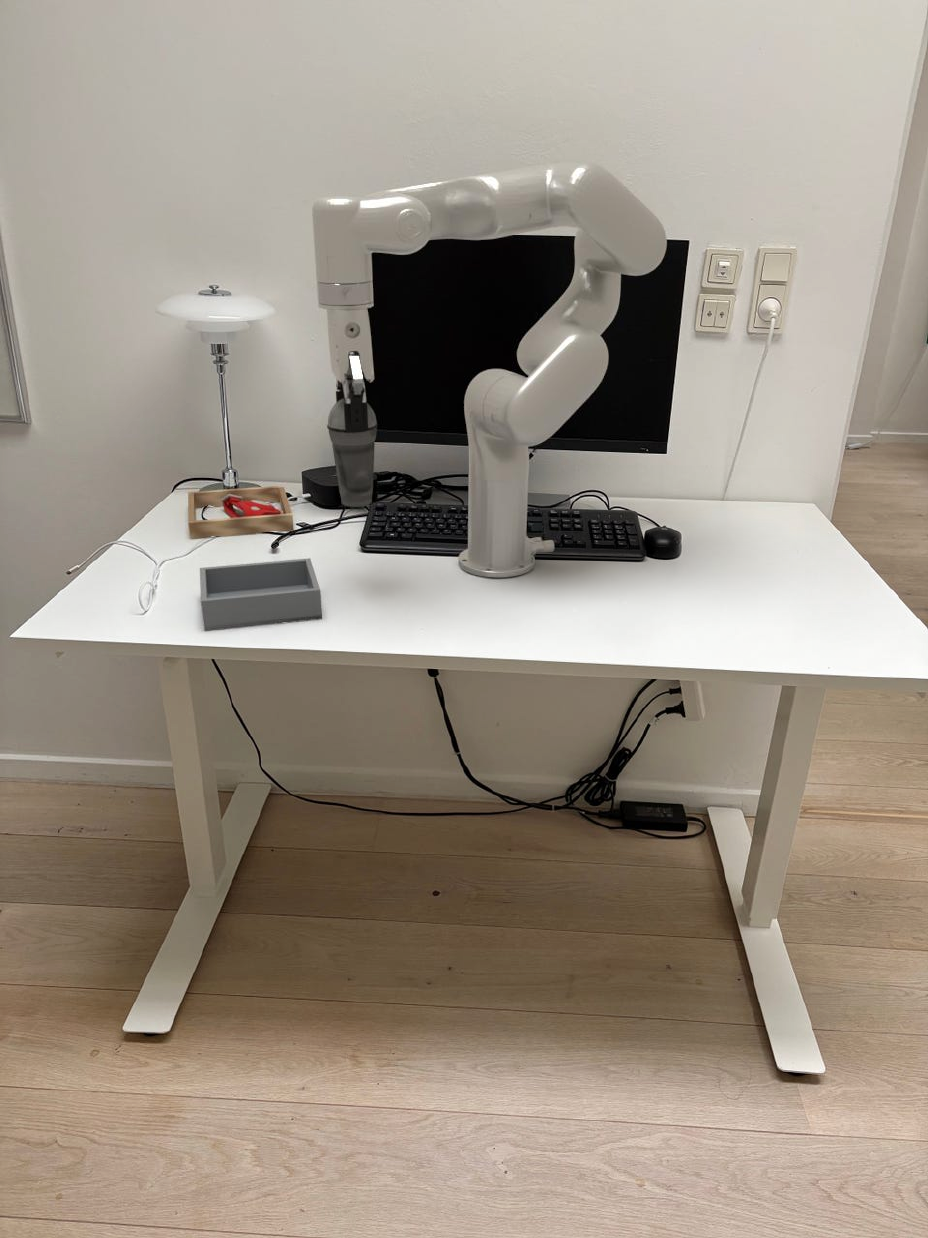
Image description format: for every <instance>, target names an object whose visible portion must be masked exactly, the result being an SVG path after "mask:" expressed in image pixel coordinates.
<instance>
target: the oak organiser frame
mask: <svg viewBox="0 0 928 1238" xmlns="http://www.w3.org/2000/svg"><path fill="white" fill-rule="evenodd" d="M228 494H231V495H236V496H240V497H242V499H241V501H244V502H246V501H248V500H257V501H263V502H276V503H279V504H281V505H280V507H282V508H281V512H282V511H283V512H282V513H281V514H276V515H263V516H250V517H243V516H241V517H237V518H232V517H227V518H226V517H225V518H213V519H210V518H209V519H201V520H197V518H196V517H197V516H196V509H203V508H202V507H205V506H207V505H211V506H221V507H223V502H221V499H223V498H224V497H225V496H227V495H228ZM187 503H188V509H187V510H188V519H187V520H188V529H189V538H190V540H198V538H199V539H207V538H206V537H211V536H224V537H234V536H235V535H236V536H247V535H248V534H249V535H257V534H256V533H261V534H263V533H262V532H268V531H286V532H293V531H292V530H294V518H293V511H292V509H291V506H290V502H289V500H288V496H287V493H286V490H285V486H284V485H271V486H260V487H259V486H257V487H246V488H245V487H243V488H230V489H215V490H199V491H188V492H187ZM227 504H228V503H227ZM294 531H295V530H294ZM211 538H212V537H211Z"/></svg>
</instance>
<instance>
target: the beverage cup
mask: <svg viewBox="0 0 928 1238" xmlns="http://www.w3.org/2000/svg"><path fill="white" fill-rule="evenodd" d="M342 385H343V383H342ZM343 391H344V385H343ZM344 397H345V392H344ZM344 403H346V400H345V398H343V399H341V400H339V401H338V402H337V403H336V402H335V404H334V405H333V407H332V408H331V409H330V412H329V413H328V418H327V425H326V428H327V429H328V433H329V439H330V442H331V445H332V452H333V458H334V465H335V471H336V477H337V484H338V492H339V494H340V498H341V505H343V506H346V507H351V508H353V507H354V508H359V507H365V506H368V505H370V504H372V503H373V499H372V498H373V491H374V469H375V467H374V466H375V444H376V442H375V441H376V439H377V432H378V431H377V430H378V422H377V418H376V414H375V412H374V410H373V409H372V407H371V405H370V404H369V403H368V402H367V412H368V430H367V431H359V432H347V431H346V430H345V419H344Z"/></svg>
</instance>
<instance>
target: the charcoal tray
mask: <svg viewBox="0 0 928 1238" xmlns="http://www.w3.org/2000/svg"><path fill="white" fill-rule="evenodd" d="M311 560H312V559H311V558H298V559H286V560H276V561H265V562H264V561H263V562H252V563H251V562H250V563H242V564H241V563H240V564H230V565H229V564H228V565H218V566H217V565H216V566H208V567H207V566H206V567H199V582H200V583H199V584H200V605H201V612H202V621H203V629H204V632H207V631H216V630H225V629H234V628H236V629H237V628H247V627H255V626H256V627H257V626H266V625H274V624H275V623H277V624H284V623H283V622H287V623H292V622H291V621H296V622H300V621H299V620H306V621H312V620H311V619H316V620H322V619H323V612H322V611H323V610H322V596H321V588H320V585H319V581H318V579H317V575H316V573H315V568H314V565H313V563H312V561H311Z"/></svg>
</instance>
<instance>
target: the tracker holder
mask: <svg viewBox="0 0 928 1238" xmlns="http://www.w3.org/2000/svg"><path fill="white" fill-rule="evenodd" d="M241 499H242V497H240V496H236V495H231V494H228V495H227V496H225V497H224V498H223V499H221V502H223V506H222V507H223V509H224V512H226V513H227V514H228V516H229V517H230V518H237V517H250V516H263V515H276V514H282V510H280V509H278V508H275V507H274V505H272V504H271V503H266V502H263V501H257V500H248V501H246V502H244V501H241ZM227 503H228V504H227ZM233 505H234V506H233ZM234 507H236V509H239V510H240V511H241V512H243V514H244V515H243V516H241V515H240V514H239V513H238V512H237V511H236V510H235V508H234Z"/></svg>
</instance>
